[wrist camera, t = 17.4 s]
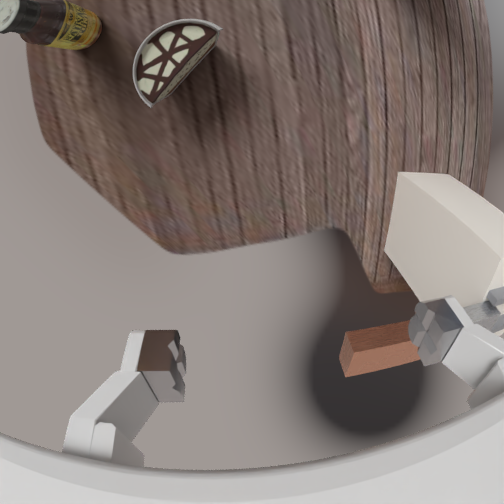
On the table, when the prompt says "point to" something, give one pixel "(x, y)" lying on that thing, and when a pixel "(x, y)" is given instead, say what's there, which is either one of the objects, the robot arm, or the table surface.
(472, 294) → the stand
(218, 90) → the table surface
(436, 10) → the table surface
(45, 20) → the sauce bottle
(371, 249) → the table surface
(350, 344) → the knife
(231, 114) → the table surface
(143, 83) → the half round cake
